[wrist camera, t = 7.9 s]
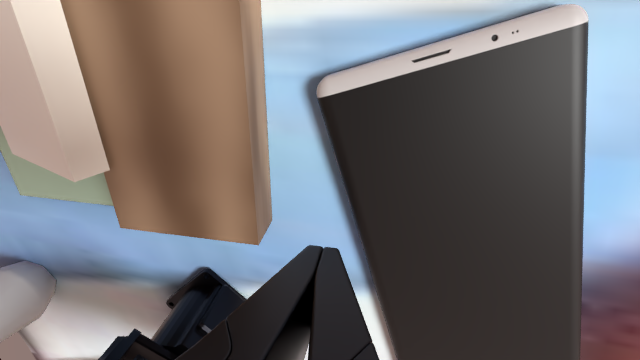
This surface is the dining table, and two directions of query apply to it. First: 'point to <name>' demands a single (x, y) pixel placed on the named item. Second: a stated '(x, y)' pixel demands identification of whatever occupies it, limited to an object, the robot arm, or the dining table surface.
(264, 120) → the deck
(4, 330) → the salt shaker
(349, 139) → the smartphone
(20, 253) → the dining table surface
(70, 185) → the mat
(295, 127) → the dining table surface
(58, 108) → the pale pink slab
